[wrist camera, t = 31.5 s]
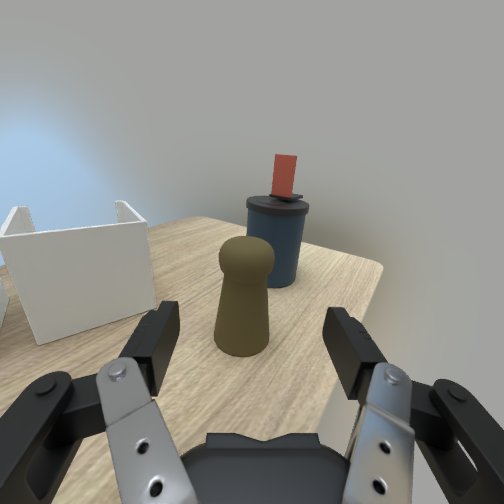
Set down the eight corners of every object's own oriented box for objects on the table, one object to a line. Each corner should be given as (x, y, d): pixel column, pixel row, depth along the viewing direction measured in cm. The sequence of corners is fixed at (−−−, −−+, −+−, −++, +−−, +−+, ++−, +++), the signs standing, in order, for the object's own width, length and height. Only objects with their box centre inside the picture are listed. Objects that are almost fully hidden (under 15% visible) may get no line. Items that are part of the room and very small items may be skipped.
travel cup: (278, 296, 33) (290, 212, 28) (230, 274, 37) (233, 199, 33) (306, 274, 39) (319, 203, 34) (262, 257, 44) (268, 193, 39)
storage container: (-269, 444, 14) (-488, 291, 10) (-154, 334, 22) (-245, 221, 17) (156, 307, 28) (146, 221, 24) (134, 270, 36) (124, 200, 32)
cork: (235, 367, 21) (241, 260, 17) (203, 329, 26) (201, 235, 21) (280, 339, 25) (295, 245, 21) (246, 310, 29) (252, 226, 25)
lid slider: (290, 201, 33) (296, 155, 30) (269, 196, 35) (273, 154, 32) (302, 198, 36) (309, 156, 33) (282, 194, 38) (287, 154, 35)
